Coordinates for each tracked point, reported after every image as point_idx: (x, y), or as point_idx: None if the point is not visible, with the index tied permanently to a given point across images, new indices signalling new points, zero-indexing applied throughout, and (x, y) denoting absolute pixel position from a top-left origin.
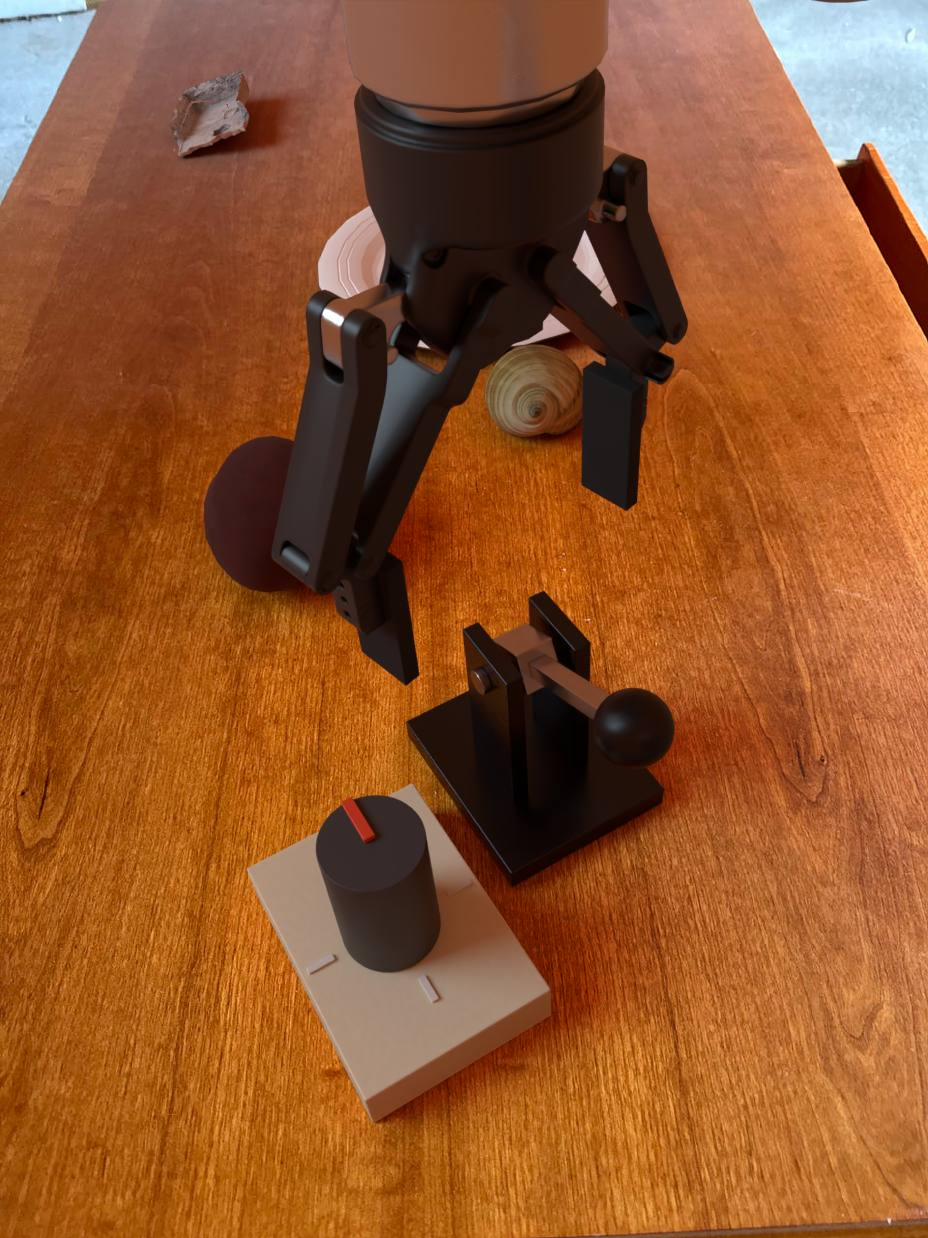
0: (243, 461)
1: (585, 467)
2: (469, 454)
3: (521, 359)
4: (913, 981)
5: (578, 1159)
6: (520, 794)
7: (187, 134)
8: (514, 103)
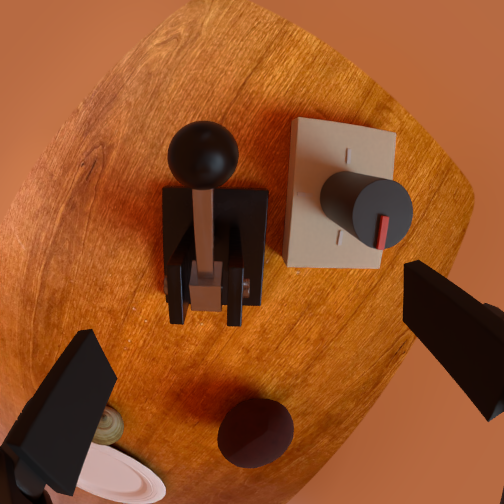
0: (263, 462)
1: (107, 391)
2: (140, 414)
3: (99, 440)
4: (135, 47)
5: (319, 66)
6: (235, 229)
7: None
8: None
